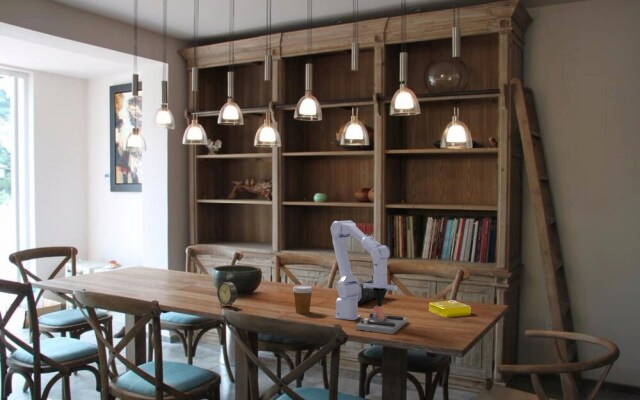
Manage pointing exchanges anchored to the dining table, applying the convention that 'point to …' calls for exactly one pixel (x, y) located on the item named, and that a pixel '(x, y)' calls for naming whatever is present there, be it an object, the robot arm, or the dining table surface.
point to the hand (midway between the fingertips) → (379, 305)
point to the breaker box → (381, 324)
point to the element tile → (449, 308)
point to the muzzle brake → (366, 293)
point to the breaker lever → (379, 312)
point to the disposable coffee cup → (302, 298)
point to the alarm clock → (227, 293)
